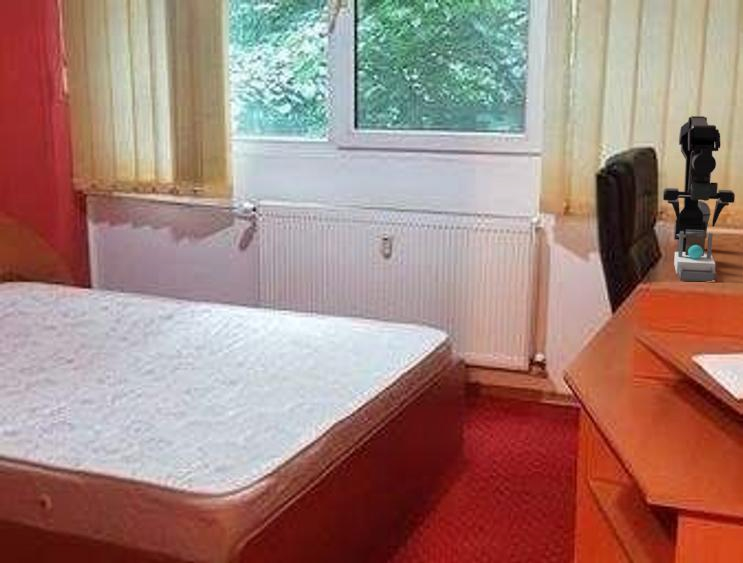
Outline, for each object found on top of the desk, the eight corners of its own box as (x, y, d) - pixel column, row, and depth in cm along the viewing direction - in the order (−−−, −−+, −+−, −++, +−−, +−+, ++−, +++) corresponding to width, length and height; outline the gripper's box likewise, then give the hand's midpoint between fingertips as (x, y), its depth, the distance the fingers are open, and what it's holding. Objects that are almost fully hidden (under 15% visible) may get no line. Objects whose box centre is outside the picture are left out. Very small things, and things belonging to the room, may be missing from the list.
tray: (678, 274, 261) (679, 265, 261) (712, 276, 259) (713, 267, 258) (680, 280, 253) (680, 271, 252) (715, 282, 250) (716, 273, 250)
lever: (683, 252, 273) (685, 229, 272) (703, 253, 271) (705, 230, 270) (684, 255, 268) (686, 232, 267) (704, 256, 266) (706, 232, 265)
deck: (674, 263, 278) (676, 227, 275) (709, 264, 275) (712, 229, 273) (676, 274, 262) (679, 236, 259) (714, 276, 259) (717, 238, 257)
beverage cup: (709, 251, 298) (714, 188, 294) (685, 250, 299) (690, 188, 295) (706, 247, 305) (711, 186, 301) (683, 246, 306) (687, 186, 302)
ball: (687, 257, 268) (688, 243, 267) (701, 258, 267) (702, 244, 266) (688, 259, 264) (689, 245, 263) (702, 260, 263) (703, 246, 262)
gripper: (666, 173, 254) (662, 229, 258) (738, 175, 249) (733, 232, 253) (664, 168, 265) (661, 222, 268) (734, 170, 260) (729, 225, 264)
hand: (695, 225), depth 263 cm, fingers open, 9 cm apart
